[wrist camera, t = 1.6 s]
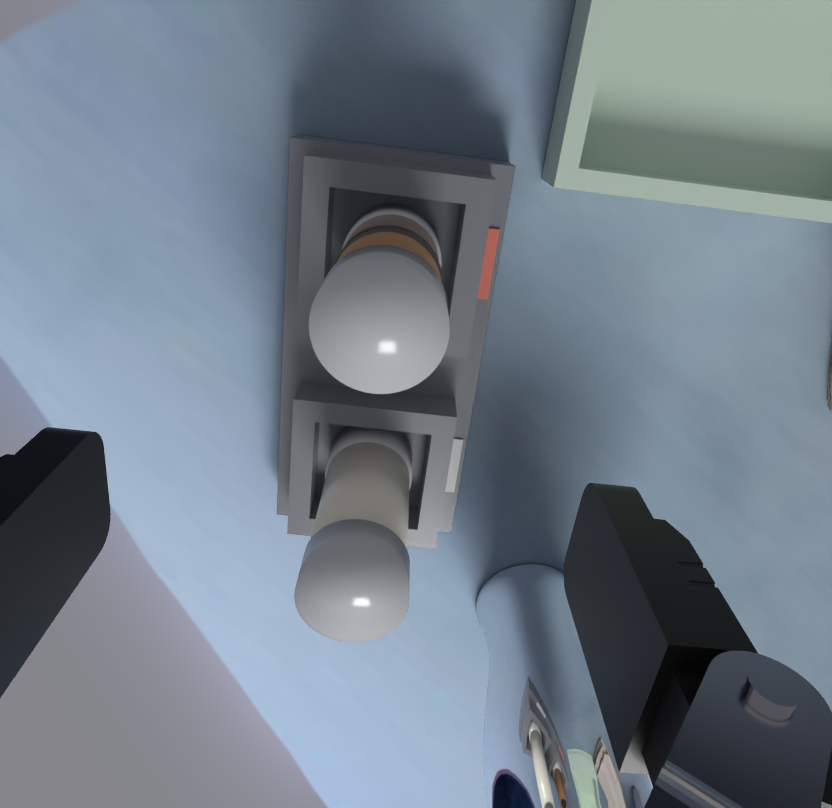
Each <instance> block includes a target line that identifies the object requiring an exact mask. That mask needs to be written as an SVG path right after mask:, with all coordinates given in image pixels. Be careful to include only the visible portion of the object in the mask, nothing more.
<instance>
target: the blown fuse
mask: <svg viewBox="0 0 832 808" xmlns="http://www.w3.org/2000/svg"><path fill="white" fill-rule="evenodd" d="M441 265H442V262H441V251H440V244H439V239H438V236H437V233H436V231H435V229H434V227H433V226H432V224H431V223H430V222H429V221H428V219H427V218H426V217H425V216H423V215H422V214H421V213H420V212H418V211H417V210H415V209H413V208H411V207H408V206H405V205H401V204H384V205H379V206H376V207H374V208H372V209H370V210H368V211H366V212H365V213H364V214H362V215H361V216H360V217H359V218H358V219H357V220H356V222H355V223H354V224H353V226H352V228H351V229H350V231H349V233H348V235H347V237H346V239H345V241H344V244H343V247H342V250H341V252H340V254H339V256H338V258H337V259H336V262H335V264H334V266H333V267H332V268H331V270H330V271H329V272H328V274H327V276H326V277H325V279H324V281H323V283H322V285H321V287H320V289H319V291H318V293H317V295H316V297H315V299H314V301H313V304H312V307H311V311H310V316H309V334H310V340H311V343H312V347H313V349H314V351H315V354H316V356H317V358H318V359H319V361H320V362H321V364H322V365H323V366H324V368H325V369H326V370H327V371H328V372H329V373H330V374H331V375H332V376H333V377H334V378H336V379H337V380H338V381H340V382H341V383H343V384H345V385H347V386H348V387H351V388H353V389H355V390H359V391H362V392H366V393H372V394H390V393H396V392H400V391H403V390H407V389H409V388H411V387H413V386H415V385H417V384H419V383H420V382H422V381H423V380H424V379H426V378H427V377H428V376H429V375H430V374H431V373H432V372H433V371H434V370H435V369H436V367H437V366H438V365H439V363H440V362H441V360H442V358H443V356H444V354H445V351H446V349H447V345H448V341H449V333H450V325H449V315H448V307H447V299H446V294H445V290H444V287H443V278H442V271H441Z"/></svg>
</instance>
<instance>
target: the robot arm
mask: <svg viewBox="0 0 832 808" xmlns="http://www.w3.org/2000/svg"><path fill="white" fill-rule="evenodd" d="M109 526H110V503H109V493H108V484H107V474H106V464H105V454H104V446H103V441H102V439H101V436H100V435H99V434H98V433H96V432H90V431H80V430H70V429H60V428H50V427H48V428H45V429H43V430H41V431H40V432H39V433H38V434H37V435H36V436H35V437H34V438H33V439H31V440H30V441H29V442H28V443H27V444H26V445H25V446H24V447H23V448H22V449H20V450H19V451H18V452H17V453H16V454H15V455H10V454H6V455H4V456H2V457H0V698H1V696H2V695H3V693H4V692H5V690H6V689H7V687H8V686H9V684H10V682H11V681H12V680H13V678H14V677H15V676H16V674H17V672H18V671H19V670H20V668H21V667H22V665H23V664H24V663H25V661H26V660H27V658H28V657H29V655H30V654H31V652H32V651H33V649H34V648H35V646H36V645H37V644H38V642H39V641H40V639H41V637H42V636H43V635H44V633H45V632H46V630H47V629H48V627H49V626H50V624H51V623H52V622H53V620H54V619H55V617H56V616H57V614H58V613H59V611H60V610H61V608H62V607H63V606H64V604H65V602H66V601H67V600H68V598H69V597H70V595H71V594H72V592H73V591H74V589H75V588H76V587H77V585H78V584H79V582H80V581H81V579H82V578H83V576H84V575H85V573H86V572H87V570H88V569H89V567H90V566H91V565H92V563H93V562H94V560H95V559H96V557H97V556H98V554H99V553H100V551H101V550H102V548H103V546H104V544H105V541H106V538H107V535H108V531H109ZM714 584H715V582H714V581H713V579H712V577H711V576H710V574H709V572H708V571H707V569H706V568H703V563H702V561H701V559H700V558H699V556H698V554H697V553H696V551H695V550H694V548H693V546H692V545H691V543H690V541H689V540H688V539H686V538H685V537H684V536H683V535H682V534H681V533H679V532H678V531H677V530H676V529H675V528H674V527H672V526H671V525H670V524H669V523H668V522H667V521H665V520H660V519H654V518H653V517H652V515H651V513H650V511H649V510H648V508H647V506H646V504H645V502H644V501H643V499H642V497H641V495H640V493H639V492H638V490H637V489H636V488H634V487H626V486H616V485H606V484H596V483H589V484H588V485H587V486H586V488H585V490H584V492H583V495H582V498H581V502H580V506H579V509H578V513H577V517H576V520H575V524H574V528H573V531H572V535H571V539H570V542H569V546H568V550H567V554H566V558H565V564H564V588H565V593H566V597H567V600H568V604H569V607H570V610H571V614H572V617H573V620H574V624H575V627H576V630H577V634H578V637H579V640H580V644H581V647H582V650H583V654H584V657H585V660H586V664H587V667H588V670H589V674H590V677H591V680H592V684H593V687H594V690H595V694H596V697H597V700H598V704H599V707H600V710H601V714H602V717H603V720H604V723H605V727H606V730H607V733H608V737H609V740H610V743H611V747H612V750H613V753H614V757H615V760H616V763H617V767H618V770H619V772H620V773H633V774H646V775H649V776H650V779H651V782H652V785H653V789H652V791H651V793H650V796H649V798H648V800H647V802H646V804H645V807H644V808H832V712H831V710H830V708H829V706H828V704H827V703H826V701H825V700H824V698H823V697H822V696H821V694H820V693H819V692H818V691H817V690H816V689H815V688H814V687H813V686H812V685H811V684H810V683H809V682H808V681H807V680H806V679H804V678H803V677H802V676H801V675H799V674H798V673H797V672H795V671H794V670H792V669H791V668H789V667H787V666H786V665H784V664H782V663H780V662H778V661H776V660H774V659H771V658H769V657H766V656H763V655H761V654H758V653H757V651H756V649H755V648H754V646H753V644H752V643H751V641H750V639H749V638H748V636H747V635H746V633H745V631H744V630H743V628H742V626H741V625H740V623H739V621H738V620H737V618H736V617H735V615H734V613H733V612H732V610H731V608H730V607H729V605H728V603H727V602H726V600H725V599H724V597H723V595H722V594H721V592H720V590H719V589H718V588H716V587H715V586H714Z"/></svg>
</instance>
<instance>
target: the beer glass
mask: <svg viewBox="0 0 832 808" xmlns="http://www.w3.org/2000/svg"><path fill="white" fill-rule="evenodd" d="M476 613H477V618H478V622H479V625H480V627H481V630H482V633H483V636H484V638H485V641H486V645H487V649H488V655H489V674H488V686H487V696H486V706H485V718H484V735H483V764H484V781H485V791H486V799H487V807H488V808H644V807H645V804H646V802H647V800H648V798H649V796H650V793H651V791H652V790H651V787H650V783H649V780H648V777H647V775H646V774H633V773H620V772H619V770H618V767H617V763H616V760H615V757H614V753H613V750H612V747H611V743H610V740H609V737H608V733H607V730H606V727H605V723H604V720H603V717H602V714H601V710H600V707H599V704H598V700H597V697H596V694H595V690H594V687H593V684H592V680H591V677H590V674H589V670H588V667H587V664H586V660H585V657H584V654H583V650H582V647H581V644H580V640H579V637H578V634H577V630H576V627H575V624H574V620H573V617H572V614H571V610H570V607H569V604H568V600H567V597H566V593H565V588H564V573H562V572H561V571H559V570H557V569H555V568H552V567H549V566H545V565H540V564H523V565H517V566H513V567H510V568H507V569H505V570H502V571H500V572H499V573H497V574H495V575H494V576H493V577H491V578H490V579H489V580H488V581H487V582H486V583H485V584H484V586H483V587H482V589H481V590H480V592H479V595H478V598H477V602H476Z"/></svg>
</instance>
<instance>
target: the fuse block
mask: <svg viewBox="0 0 832 808" xmlns="http://www.w3.org/2000/svg"><path fill="white" fill-rule="evenodd" d="M514 172H515V166H514V165H513V164H511V163H510V162H505V161H498V160H490V159H482V158H475V157H467V156H459V155H452V154H444V153H436V152H429V151H421V150H413V149H406V148H398V147H390V146H382V145H375V144H367V143H359V142H352V141H344V140H336V139H329V138H321V137H313V136H306V135H296V136H293V137H290V146H289V175H288V204H287V233H286V262H285V290H284V319H283V348H282V377H281V406H280V434H279V463H278V492H277V514H278V515H288V531H287V534H296V535H306V536H311V535H312V531H313V527H314V523H315V519H316V515H317V511H318V507H319V503H320V499H321V495H322V491H323V487H324V483H325V471H326V466H327V462H328V458H329V454H330V450H331V447H332V443H333V441H334V439H335V437H336V436H337V435H338V433H339V432H340V431H341V430H343V429H344V428H345V427H347V426H355V427H364V428H373V429H382V430H391V431H400V432H402V433H403V434H404V436H405V437H406V438H407V440H408V442H409V444H410V446H411V450H412V483H411V488H410V490H409V518H408V546H414V547H423V548H433V549H436V543H437V537H438V531H443V532H451V529H452V524H453V518H454V512H455V506H456V501H457V495H458V489H459V484H460V478H461V472H462V467H463V461H464V455H465V450H466V444H467V438H468V433H469V427H470V421H471V416H472V410H473V404H474V399H475V393H476V387H477V382H478V376H479V370H480V365H481V359H482V353H483V348H484V342H485V336H486V331H487V325H488V319H489V314H490V308H491V302H492V297H493V291H494V285H495V280H496V274H497V268H498V263H499V257H500V251H501V245H502V240H503V234H504V228H505V223H506V217H507V211H508V206H509V200H510V194H511V189H512V183H513V177H514ZM384 204H401V205H405V206H408V207H411V208H413V209H415V210H417V211H418V212H420V213H421V214H422V215H423V216H425V217H426V218H427V219H428V221H429V222H430V223H431V224H432V226H433V227H434V229H435V231H436V233H437V236H438V239H439V244H440V251H441V262H442V265H441V271H442V278H443V287H444V290H445V294H446V299H447V307H448V315H449V325H450V333H449V341H448V345H447V349H446V351H445V354H444V356H443V358H442V360H441V362H440V363H439V365H438V366H437V367H436V369H435V370H434V371H433V372H432V373H431V374H430V375H429V376H428V377H427V378H426V379H424V380H423V381H422V382H420V383H419V384H417V385H415V386H413V387H411V388H409V389H407V390H403V391H400V392H396V393H390V394H372V393H366V392H362V391H359V390H355V389H353V388H351V387H348V386H347V385H345V384H343V383H341V382H340V381H338V380H337V379H336V378H334V377H333V376H332V375H331V374H330V373H329V372H328V371H327V370H326V369H325V368H324V366H323V365H322V364H321V362H320V361H319V359H318V358H317V356H316V354H315V351H314V349H313V347H312V343H311V340H310V334H309V316H310V311H311V307H312V304H313V301H314V299H315V297H316V295H317V293H318V291H319V289H320V287H321V285H322V283H323V281H324V279H325V277H326V276H327V274H328V272H329V271H330V270H331V268H332V267H333V266H334V264H335V262H336V259H337V258H338V256H339V254H340V252H341V250H342V247H343V244H344V241H345V239H346V237H347V235H348V233H349V231H350V229H351V228H352V226H353V224H354V223H355V222H356V220H357V219H358V218H359V217H360V216H361V215H362V214H364V213H365V212H366V211H368V210H370V209H372V208H374V207H376V206H379V205H384Z"/></svg>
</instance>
